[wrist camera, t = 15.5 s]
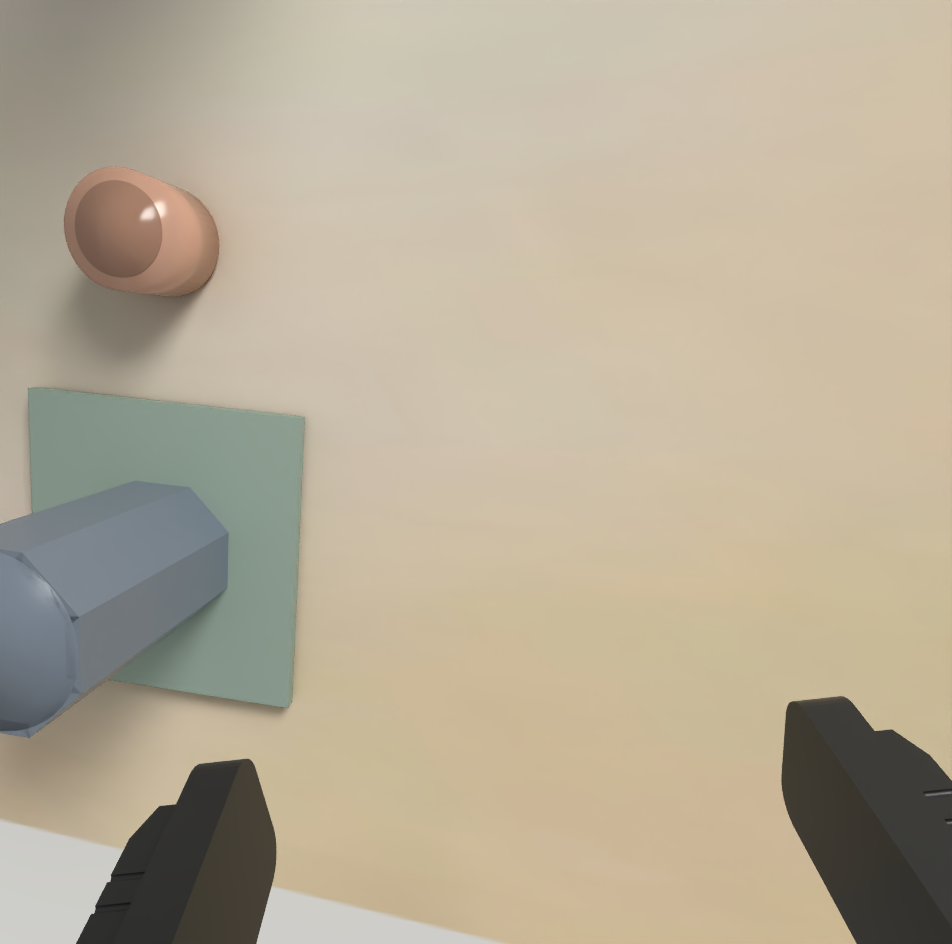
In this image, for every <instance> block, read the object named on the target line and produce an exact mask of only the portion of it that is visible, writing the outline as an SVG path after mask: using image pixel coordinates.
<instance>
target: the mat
mask: <svg viewBox="0 0 952 944" xmlns="http://www.w3.org/2000/svg"><path fill="white" fill-rule="evenodd" d="M28 406H29V435H30V465H31V494H32V514H33V513H36V512H39V511H42V510H45V509H48V508H51V507H54V506H58V505H61V504H64V503H67V502H70V501H73V500H76V499H79V498H83V497H86V496H89V495H92V494H95V493H98V492H101V491H104V490H107V489H111V488H114V487H117V486H120V485H123V484H126V483H129V482H132V481H142V482H150V483H158V484H166V485H174V486H182V487H190V488H191V489H192V490H193V491H194V493H195V494H196V495H197V496H198V497H199V498H200V500H201V501H202V502H203V503H204V504H205V505H206V507H207V508H208V509H209V510H210V511H211V512H212V514H213V515H214V516H215V517H216V518H217V519H218V521H219V522H220V523H221V524H222V525H223V526H224V528H225V529H226V530H227V531H228V532H229V542H228V585H227V588H226V589H225V590H224V591H223V592H222V593H220V594H219V595H218V596H217V597H216V598H214V599H213V600H212V601H211V602H210V603H209V604H207V605H206V606H205V607H204V608H203V609H201V610H200V611H199V612H198V613H197V614H195V615H194V616H193V617H192V618H191V619H189V620H188V621H187V622H185V623H184V624H183V625H181V626H180V627H179V628H177V629H176V630H175V631H173V632H172V633H171V634H169V635H168V636H167V637H165V638H164V639H162V640H161V641H160V642H158V643H157V644H156V645H154V646H153V647H152V648H150V649H149V650H148V651H146V652H145V653H143V654H142V655H141V656H139V657H138V658H137V659H135V660H134V661H133V662H131V663H130V664H129V665H127V666H126V667H125V668H123V669H122V670H120V671H119V672H118V673H116V674H115V675H114V676H112V677H111V678H110V679H108V680H113V681H120V682H126V683H132V684H139V685H145V686H151V687H158V688H164V689H170V690H177V691H183V692H189V693H196V694H202V695H208V696H214V697H221V698H227V699H233V700H240V701H246V702H252V703H259V704H265V705H271V706H278V707H284V708H288V706H289V705H290V704H291V702H292V690H293V668H294V646H295V624H296V602H297V579H298V557H299V535H300V513H301V491H302V469H303V447H304V425H305V417H301V416H292V415H283V414H274V413H265V412H256V411H247V410H238V409H229V408H220V407H211V406H202V405H194V404H185V403H176V402H167V401H158V400H149V399H140V398H131V397H122V396H113V395H104V394H95V393H86V392H77V391H68V390H59V389H50V388H41V387H33V388H28Z"/></svg>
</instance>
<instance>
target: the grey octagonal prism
mask: <svg viewBox="0 0 952 944" xmlns="http://www.w3.org/2000/svg"><path fill="white" fill-rule="evenodd" d="M228 542H229V532H228V531H227V530H226V529H225V528H224V526H223V525H222V524H221V523H220V522H219V521H218V519H217V518H216V517H215V516H214V515H213V514H212V512H211V511H210V510H209V509H208V508H207V507H206V505H205V504H204V503H203V502H202V501H201V500H200V498H199V497H198V496H197V495H196V494H195V493H194V491H193V490H192V489H191V488H190V487H182V486H174V485H166V484H158V483H150V482H142V481H132V482H129V483H126V484H123V485H120V486H117V487H114V488H111V489H107V490H104V491H101V492H98V493H95V494H92V495H89V496H86V497H83V498H79V499H76V500H73V501H70V502H67V503H64V504H61V505H58V506H54V507H51V508H48V509H45V510H42V511H39V512H36V513H33V514H30V515H26V516H23V517H20V518H17V519H14V520H11V521H8V522H5V523H1V524H0V733H4V734H10V735H16V736H22V737H28V738H30V737H31V736H32V735H34V734H35V733H36V732H38V731H39V730H41V729H42V728H43V727H45V726H46V725H47V724H49V723H50V722H51V721H53V720H54V719H55V718H57V717H58V716H59V715H61V714H62V713H64V712H65V711H66V710H68V709H69V708H70V707H72V706H73V705H74V704H76V703H77V702H78V701H80V700H81V699H83V698H84V697H85V696H87V695H88V694H89V693H91V692H92V691H93V690H95V689H96V688H97V687H99V686H100V685H101V684H103V683H104V682H106V681H107V680H108V679H110V678H111V677H112V676H114V675H115V674H116V673H118V672H119V671H120V670H122V669H123V668H125V667H126V666H127V665H129V664H130V663H131V662H133V661H134V660H135V659H137V658H138V657H139V656H141V655H142V654H143V653H145V652H146V651H148V650H149V649H150V648H152V647H153V646H154V645H156V644H157V643H158V642H160V641H161V640H162V639H164V638H165V637H167V636H168V635H169V634H171V633H172V632H173V631H175V630H176V629H177V628H179V627H180V626H181V625H183V624H184V623H185V622H187V621H188V620H189V619H191V618H192V617H193V616H194V615H195V614H197V613H198V612H199V611H200V610H201V609H203V608H204V607H205V606H206V605H207V604H209V603H210V602H211V601H212V600H213V599H214V598H216V597H217V596H218V595H219V594H220V593H222V592H223V591H224V590H225V589H226V588H227V585H228Z"/></svg>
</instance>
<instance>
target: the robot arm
mask: <svg viewBox="0 0 952 944" xmlns="http://www.w3.org/2000/svg"><path fill="white" fill-rule="evenodd" d="M782 791H783V797H784V801H785V805H786V808H787V811H788V814H789V817H790V819H791V822H792V824H793V826H794V828H795V830H796V832H797V833H798V835H799V837H800V839H801V841H802V843H803V845H804V846H805V848H806V850H807V852H808V854H809V856H810V858H811V859H812V861H813V863H814V865H815V867H816V869H817V871H818V872H819V874H820V876H821V878H822V880H823V882H824V884H825V885H826V887H827V889H828V891H829V893H830V895H831V897H832V898H833V900H834V902H835V904H836V906H837V908H838V910H839V911H840V913H841V915H842V917H843V919H844V921H845V923H846V924H847V926H848V928H849V930H850V932H851V934H852V936H853V937H854V939H855V941H856V943H857V944H952V781H951V780H950V778H949V777H948V776H947V775H946V774H945V772H944V771H943V770H942V769H941V768H940V767H939V765H938V764H937V763H936V762H935V761H934V760H933V758H932V757H931V756H930V755H929V754H927V753H926V752H924V751H923V750H921V749H920V748H918V747H917V746H915V745H914V744H913V743H911V742H910V741H908V740H907V739H905V738H904V737H902V736H901V735H899V734H898V733H896V732H895V731H893V730H883V731H874V730H873V728H872V727H871V726H870V725H869V723H868V722H867V721H866V720H865V718H864V717H863V716H862V714H861V713H860V712H859V711H858V709H857V708H856V707H855V706H854V704H853V703H852V702H851V701H850V700H849V699H847V698H845V697H842V696H839V697H830V698H821V699H811V700H802V701H793V702H790V703H789V705H788V707H787V710H786V721H785V735H784V749H783V763H782ZM275 866H276V838H275V832H274V828H273V825H272V821H271V818H270V815H269V812H268V808H267V805H266V802H265V798H264V795H263V792H262V788H261V785H260V782H259V778H258V775H257V772H256V769H255V766H254V764H253V762H252V761H251V760H250V759H241V760H232V761H222V762H213V763H204V764H198V765H197V766H195V767H194V769H193V770H192V772H191V773H190V775H189V778H188V780H187V782H186V784H185V786H184V788H183V791H182V793H181V795H180V797H179V799H178V801H177V804H175V805H166V806H159V807H158V808H157V809H156V810H155V811H154V813H153V814H152V815H151V816H150V817H149V818H148V819H147V820H146V821H145V822H144V823H143V825H142V826H141V827H140V828H139V829H138V830H137V831H136V832H135V833H134V834H133V835H132V837H131V838H130V839H129V841H128V843H127V845H126V847H125V849H124V851H123V852H122V854H121V857H120V858H119V860H118V862H117V864H116V866H115V868H114V870H113V872H112V874H111V882H108V883H107V884H106V886H105V888H104V890H103V892H102V894H101V896H100V898H99V900H98V902H97V904H96V906H95V907H96V910H95V913H94V914H91V915H90V917H89V920H88V922H87V923H86V925H85V927H84V929H83V931H82V933H81V935H80V937H79V939H78V941H77V943H76V944H256V942H257V938H258V935H259V931H260V927H261V923H262V919H263V916H264V912H265V908H266V904H267V901H268V897H269V893H270V890H271V886H272V882H273V878H274V873H275Z"/></svg>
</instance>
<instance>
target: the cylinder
mask: <svg viewBox="0 0 952 944" xmlns="http://www.w3.org/2000/svg"><path fill="white" fill-rule="evenodd" d="M64 230H65V237H66V242H67V245H68V248H69V251H70V253H71V255H72V257H73V259H74V260H75V262H76V264H77V265H78V266H79V268H80V269H81V270H82V271H83V272H84V273H85V274H86V275H87V276H88V277H89V278H90V279H92V280H93V281H95V282H96V283H98V284H100V285H102V286H104V287H106V288H110V289H113V290H119V291H128V292H136V293H145V294H153V295H162V296H183V295H186V294H189V293H191V292H194V291H195V290H197V289H198V288H200V287H201V286H202V285H203V284H204V283H205V282H206V281H207V280H208V279H209V277H210V276H211V274H212V272H213V270H214V268H215V266H216V263H217V259H218V254H219V237H218V232H217V228H216V225H215V222H214V220H213V218H212V216H211V214H210V212H209V211H208V210H207V208H206V207H205V206H204V205H203V203H202V202H201V201H200V200H198V199H197V198H196V197H195V196H193V195H192V194H190V193H188V192H186V191H184V190H182V189H179V188H177V187H174V186H172V185H169V184H167V183H164V182H162V181H159V180H157V179H154V178H152V177H149V176H147V175H144V174H142V173H139V172H137V171H134V170H131V169H128V168H124V167H106V168H102V169H98V170H96V171H94V172H92V173H90V174H89V175H87V176H86V177H84V178H83V179H82V180H81V181H80V182H79V183H78V184H77V186H76V187H75V188H74V190H73V192H72V193H71V195H70V197H69V200H68V202H67V206H66V210H65V216H64Z"/></svg>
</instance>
